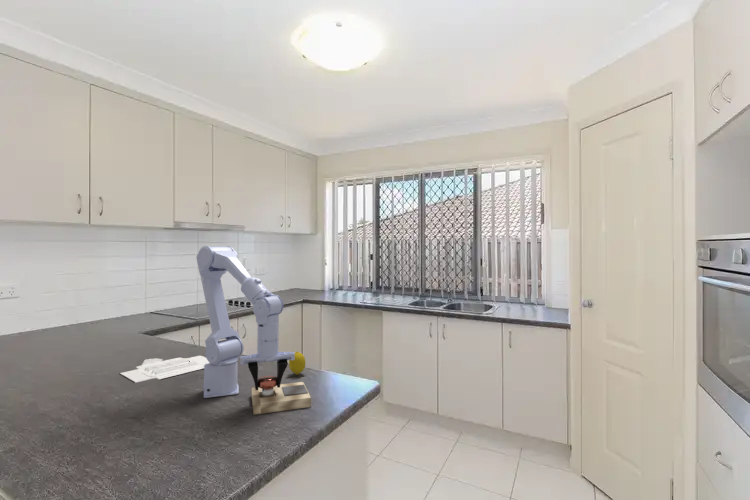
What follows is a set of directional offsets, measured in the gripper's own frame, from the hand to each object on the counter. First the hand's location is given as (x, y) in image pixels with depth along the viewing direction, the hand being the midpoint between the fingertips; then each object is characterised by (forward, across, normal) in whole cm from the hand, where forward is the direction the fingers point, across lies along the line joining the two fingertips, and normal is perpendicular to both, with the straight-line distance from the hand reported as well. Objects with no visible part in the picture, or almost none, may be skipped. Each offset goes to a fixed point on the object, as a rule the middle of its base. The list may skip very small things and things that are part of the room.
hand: (267, 387), depth 104 cm
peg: (+4, 0, 0) cm, 4 cm away
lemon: (+4, +12, +21) cm, 24 cm away
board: (+4, +4, 0) cm, 6 cm away
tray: (+5, -30, +43) cm, 53 cm away
